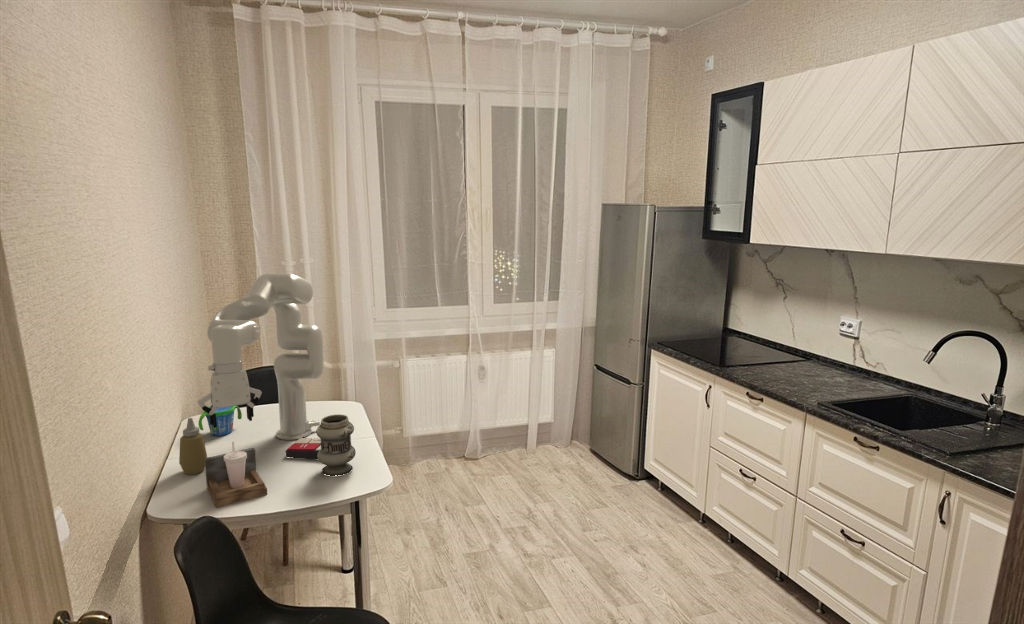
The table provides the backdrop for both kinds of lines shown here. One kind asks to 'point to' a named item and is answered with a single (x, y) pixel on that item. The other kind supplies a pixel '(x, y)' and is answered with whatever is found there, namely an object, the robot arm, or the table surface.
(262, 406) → the table surface
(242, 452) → the smoothie
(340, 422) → the apothecary jar
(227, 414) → the snack cup
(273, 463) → the table surface
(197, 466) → the squeeze bottle
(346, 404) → the table surface
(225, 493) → the display stand
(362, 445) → the table surface
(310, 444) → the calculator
